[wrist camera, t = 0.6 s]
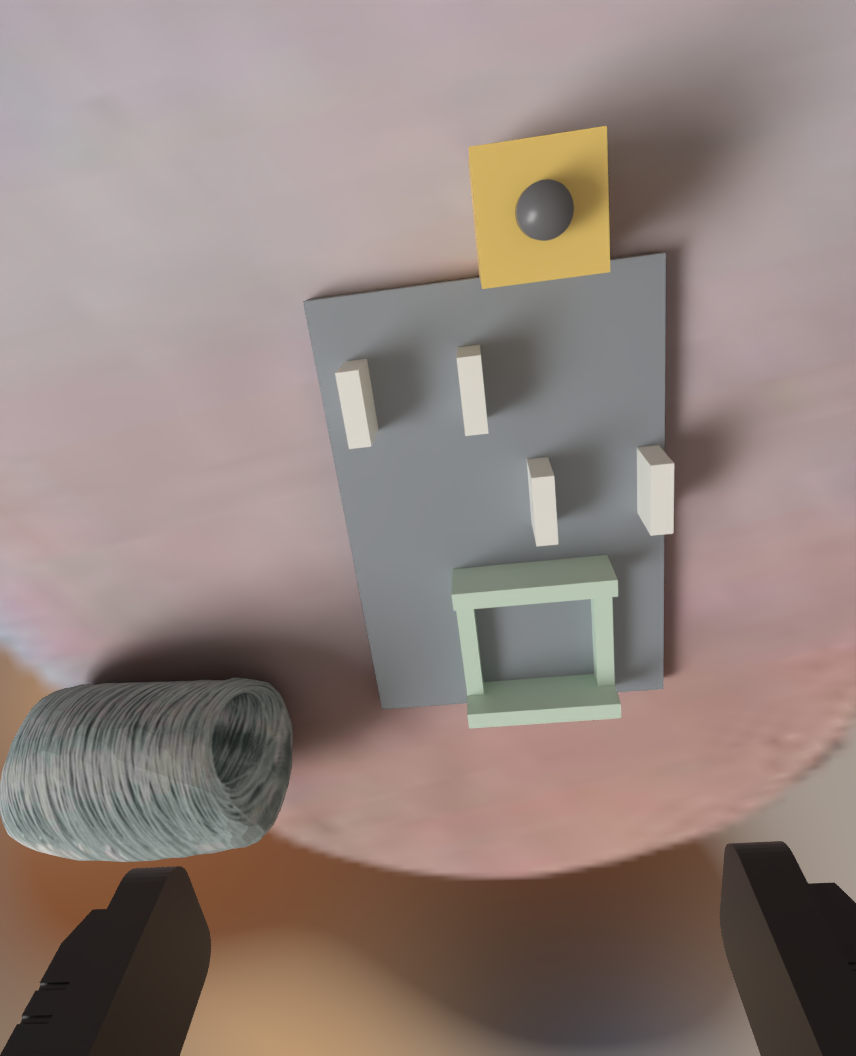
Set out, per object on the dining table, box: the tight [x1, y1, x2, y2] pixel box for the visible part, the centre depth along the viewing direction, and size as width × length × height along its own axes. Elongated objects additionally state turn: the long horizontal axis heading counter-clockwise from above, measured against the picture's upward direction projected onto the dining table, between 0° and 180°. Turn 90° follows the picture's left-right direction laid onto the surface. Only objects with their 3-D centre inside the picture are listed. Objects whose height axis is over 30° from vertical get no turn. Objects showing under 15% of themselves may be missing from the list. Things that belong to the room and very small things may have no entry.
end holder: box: [451, 555, 621, 728], centre depth 32 cm, size 7×7×2 cm
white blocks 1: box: [335, 345, 489, 449], centre depth 27 cm, size 3×6×2 cm, turn 98°
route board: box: [303, 252, 666, 709], centre depth 31 cm, size 20×14×1 cm
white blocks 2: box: [527, 445, 674, 547], centre depth 29 cm, size 3×6×2 cm, turn 98°
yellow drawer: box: [469, 126, 610, 289], centre depth 23 cm, size 4×4×7 cm
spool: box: [0, 678, 293, 862], centre depth 34 cm, size 14×10×10 cm
